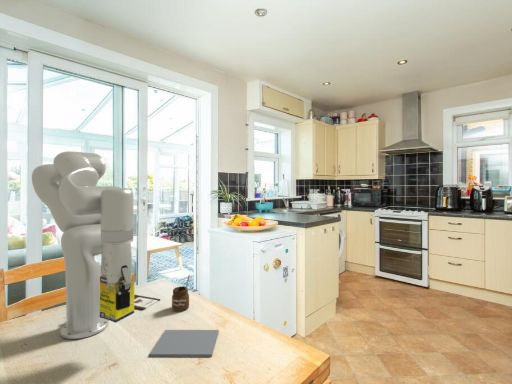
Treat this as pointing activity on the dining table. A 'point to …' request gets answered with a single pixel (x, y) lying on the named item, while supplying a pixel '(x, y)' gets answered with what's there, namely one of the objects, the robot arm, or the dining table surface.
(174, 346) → the gray mat
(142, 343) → the dining table surface
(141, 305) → the chocolate bar
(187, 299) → the utensil holder
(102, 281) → the supplement box
